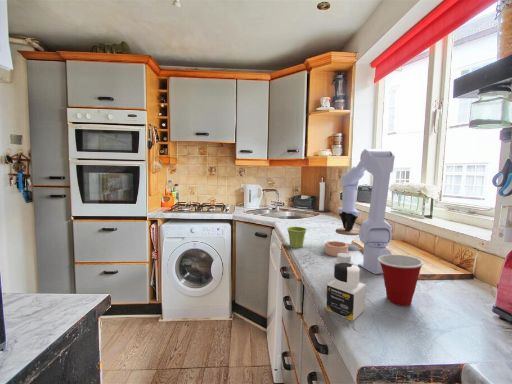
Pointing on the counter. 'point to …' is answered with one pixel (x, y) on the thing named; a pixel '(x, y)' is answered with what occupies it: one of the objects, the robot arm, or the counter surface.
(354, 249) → the mat
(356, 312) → the medicine bottle
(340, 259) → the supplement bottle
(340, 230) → the lid
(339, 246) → the bowl
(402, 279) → the plastic cup
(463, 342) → the counter surface
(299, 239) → the plant pot
